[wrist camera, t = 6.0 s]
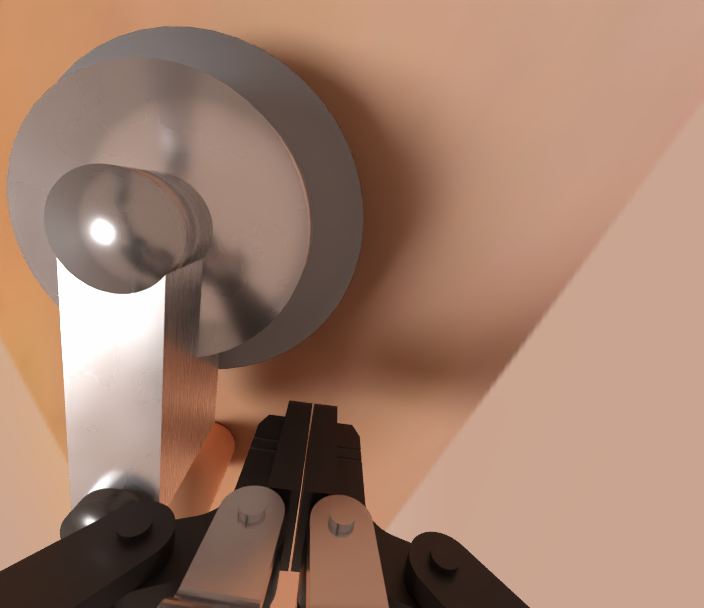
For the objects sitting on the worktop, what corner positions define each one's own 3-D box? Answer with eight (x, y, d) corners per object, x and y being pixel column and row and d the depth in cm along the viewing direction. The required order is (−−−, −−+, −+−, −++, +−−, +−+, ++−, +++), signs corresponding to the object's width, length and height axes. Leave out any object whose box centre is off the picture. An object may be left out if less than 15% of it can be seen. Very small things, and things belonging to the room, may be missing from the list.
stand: (22, 91, 12) (-166, 27, 7) (326, 23, 11) (319, -84, 7) (178, 472, 16) (118, 574, 11) (402, 428, 16) (427, 516, 11)
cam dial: (63, 61, 9) (-175, -58, 5) (330, 112, 10) (323, 46, 6) (79, 430, 12) (-60, 553, 8) (283, 454, 13) (255, 582, 9)
